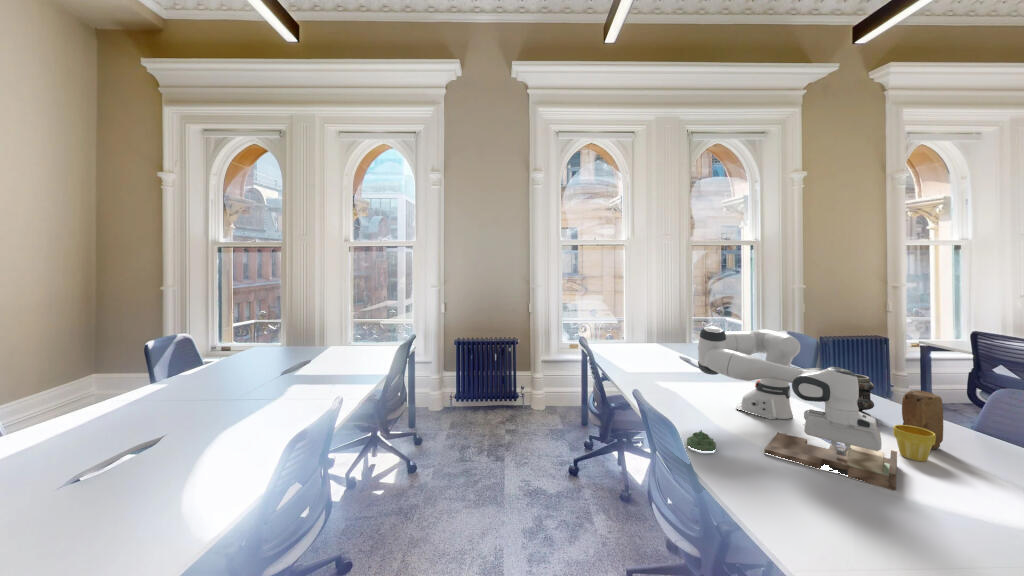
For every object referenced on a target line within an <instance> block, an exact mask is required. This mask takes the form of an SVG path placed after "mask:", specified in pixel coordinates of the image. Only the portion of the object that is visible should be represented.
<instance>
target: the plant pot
mask: <svg viewBox="0 0 1024 576" xmlns="http://www.w3.org/2000/svg"><path fill="white" fill-rule="evenodd" d="M892 428H893V429H892V431H893V436H894V438H895V439H896V442H897V447H898V451H899V455H900V456H902V457H904V458H906V459H909V460H912V461H915V462H916V461H917V462H927V461H928V459H929V455H930V453H931V451H932V449H931V448H932V445H934V444H935V441H936V435H935V433H933V432H931V431H929V430H926V429H923V428H919V427H915V426H909V425H903V424H894V425H893V427H892Z"/></svg>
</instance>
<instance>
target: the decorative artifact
mask: <svg viewBox="0 0 1024 576" xmlns="http://www.w3.org/2000/svg"><path fill="white" fill-rule="evenodd" d="M687 445H688V446H690V447H691V448H694V449H697V450H701V451H713V450H715V449H716V450H717V444H716V441H714V438H711V437H710V436H709V434H707V433H705V432H703V430H699V431H698V432H697V431H696V432H693V433H692V435H691V436H689V437H687V438H686V446H687Z"/></svg>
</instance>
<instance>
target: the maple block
mask: <svg viewBox="0 0 1024 576" xmlns="http://www.w3.org/2000/svg"><path fill="white" fill-rule="evenodd" d="M884 457H885V452H884V451H881V450H879V451H874V450H870V449H866V448H861V447H857V446H853V445H851V447H850V449H849V450H848V457H847V464H848V465H852V466H856V467H860V468H864V469H867V470H871V471H875V472H879V473H883V469H884Z"/></svg>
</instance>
